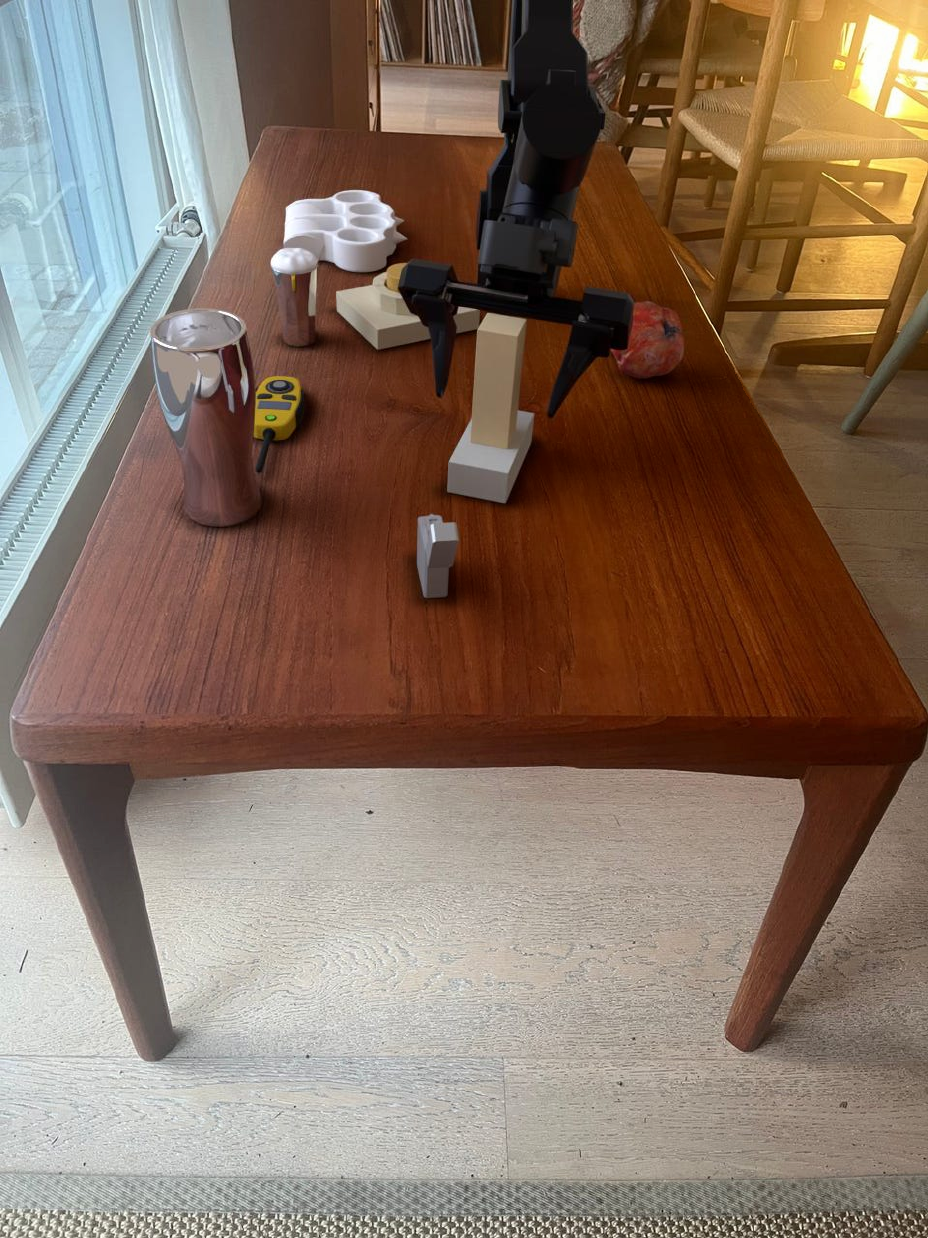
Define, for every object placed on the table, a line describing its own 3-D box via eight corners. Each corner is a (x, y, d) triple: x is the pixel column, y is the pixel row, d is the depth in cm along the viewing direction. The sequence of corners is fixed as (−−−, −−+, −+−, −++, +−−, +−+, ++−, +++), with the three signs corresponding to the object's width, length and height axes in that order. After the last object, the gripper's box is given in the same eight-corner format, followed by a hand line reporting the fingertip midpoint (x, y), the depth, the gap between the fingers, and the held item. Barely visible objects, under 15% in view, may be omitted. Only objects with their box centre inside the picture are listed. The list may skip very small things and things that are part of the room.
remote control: (308, 373, 91) (286, 460, 80) (310, 392, 92) (288, 480, 81) (256, 371, 91) (227, 458, 79) (258, 389, 92) (229, 478, 81)
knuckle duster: (287, 215, 125) (401, 216, 127) (284, 272, 112) (411, 272, 114) (285, 188, 123) (401, 190, 125) (281, 243, 110) (411, 243, 112)
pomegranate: (589, 387, 100) (638, 369, 91) (586, 314, 100) (634, 288, 90) (653, 387, 102) (707, 369, 93) (650, 316, 102) (704, 291, 92)
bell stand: (434, 292, 110) (435, 257, 108) (479, 328, 104) (481, 292, 101) (336, 310, 105) (335, 274, 103) (377, 349, 99) (377, 312, 96)
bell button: (416, 276, 104) (416, 259, 103) (436, 291, 102) (436, 275, 101) (379, 282, 103) (379, 266, 102) (398, 299, 100) (398, 282, 99)
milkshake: (321, 353, 98) (316, 254, 91) (270, 346, 98) (261, 247, 92) (334, 334, 101) (331, 237, 95) (285, 327, 102) (278, 230, 95)
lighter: (416, 562, 74) (418, 473, 68) (439, 561, 74) (442, 472, 69) (430, 625, 68) (433, 534, 63) (454, 623, 69) (459, 532, 63)
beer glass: (282, 491, 80) (267, 317, 70) (240, 539, 75) (217, 359, 65) (207, 473, 81) (181, 299, 71) (161, 518, 76) (126, 338, 66)
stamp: (531, 442, 87) (546, 303, 79) (505, 503, 80) (519, 357, 71) (477, 432, 88) (487, 293, 79) (447, 492, 81) (454, 346, 72)
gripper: (406, 151, 73) (359, 352, 72) (654, 186, 70) (607, 396, 69) (432, 222, 84) (392, 397, 83) (648, 255, 81) (607, 437, 80)
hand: (493, 406), depth 79 cm, fingers open, 9 cm apart
